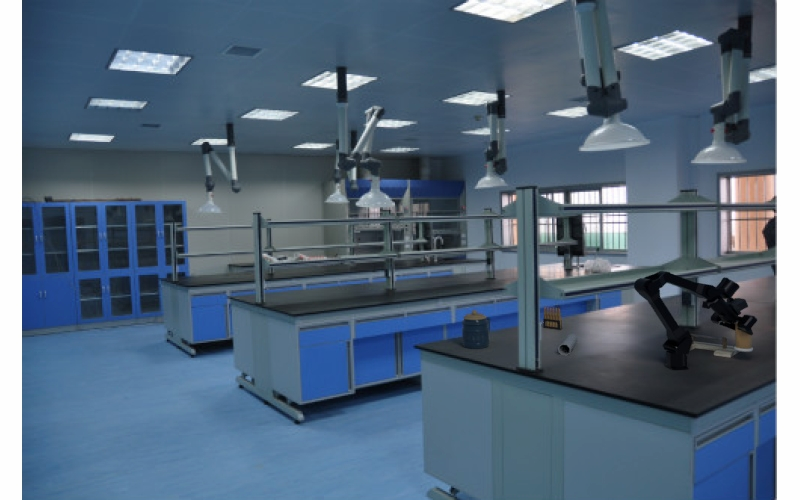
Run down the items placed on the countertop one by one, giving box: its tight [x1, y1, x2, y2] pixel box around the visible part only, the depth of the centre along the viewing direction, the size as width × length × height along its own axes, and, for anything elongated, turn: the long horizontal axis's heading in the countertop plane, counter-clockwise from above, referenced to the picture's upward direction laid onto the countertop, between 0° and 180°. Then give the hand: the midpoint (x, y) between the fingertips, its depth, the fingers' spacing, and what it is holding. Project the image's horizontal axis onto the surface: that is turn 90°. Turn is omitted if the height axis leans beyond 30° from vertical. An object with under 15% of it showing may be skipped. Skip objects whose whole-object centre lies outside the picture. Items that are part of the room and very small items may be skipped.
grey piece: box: [676, 333, 741, 358], centre depth 230 cm, size 14×22×6 cm, turn 42°
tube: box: [557, 333, 578, 356], centre depth 246 cm, size 5×5×25 cm
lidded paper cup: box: [734, 322, 754, 353], centre depth 212 cm, size 6×6×12 cm
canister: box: [461, 309, 490, 350], centre depth 259 cm, size 13×13×18 cm
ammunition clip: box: [542, 305, 563, 331], centre depth 289 cm, size 11×2×12 cm, turn 41°
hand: (746, 333), depth 212 cm, fingers closed on lidded paper cup, 5 cm apart
